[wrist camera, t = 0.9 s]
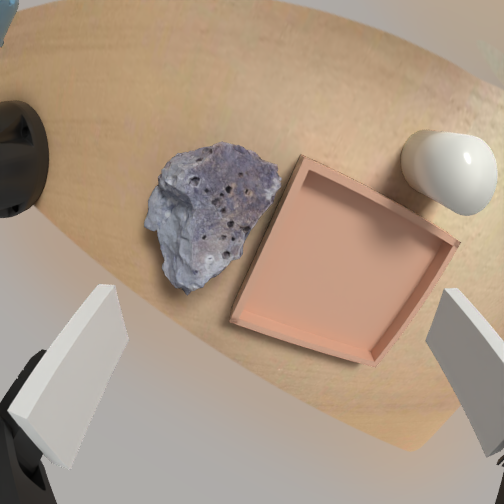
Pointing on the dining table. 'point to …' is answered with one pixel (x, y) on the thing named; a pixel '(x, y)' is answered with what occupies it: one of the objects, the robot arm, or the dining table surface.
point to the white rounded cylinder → (450, 169)
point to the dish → (341, 267)
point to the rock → (208, 209)
